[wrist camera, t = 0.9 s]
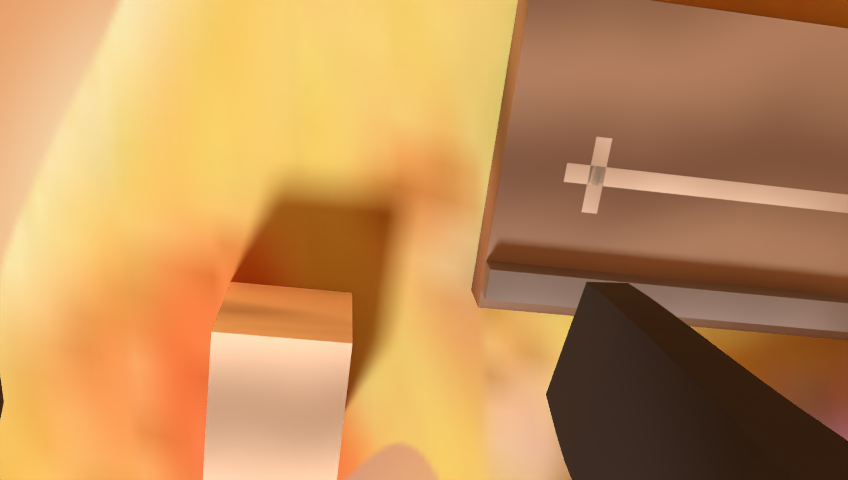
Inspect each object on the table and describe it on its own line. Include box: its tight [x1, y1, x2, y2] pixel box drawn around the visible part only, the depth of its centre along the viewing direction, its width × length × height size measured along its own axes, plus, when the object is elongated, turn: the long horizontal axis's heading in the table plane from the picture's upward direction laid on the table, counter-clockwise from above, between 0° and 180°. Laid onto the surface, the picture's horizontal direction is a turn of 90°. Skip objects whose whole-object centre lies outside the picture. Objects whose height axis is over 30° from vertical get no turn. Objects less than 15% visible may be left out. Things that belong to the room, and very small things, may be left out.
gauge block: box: [203, 282, 353, 480], centre depth 26 cm, size 5×4×4 cm
